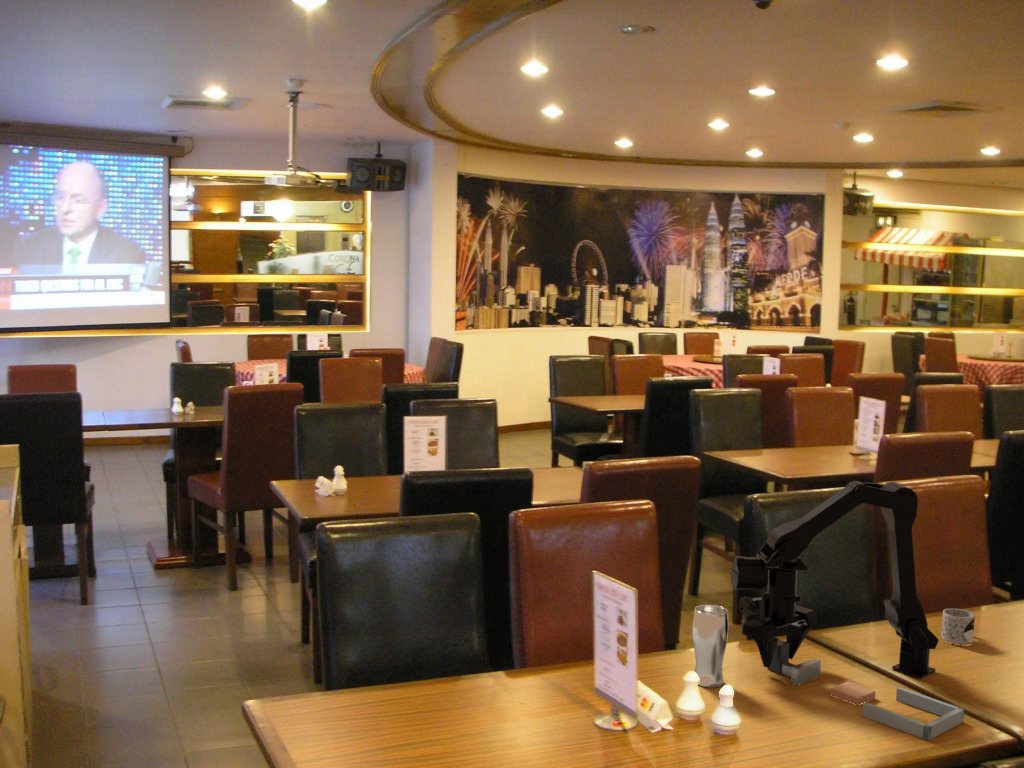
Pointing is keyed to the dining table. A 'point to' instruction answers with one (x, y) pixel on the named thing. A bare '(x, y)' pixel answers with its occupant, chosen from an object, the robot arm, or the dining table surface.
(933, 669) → the robot arm
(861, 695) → the terracotta tile
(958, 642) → the mug
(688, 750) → the dining table surface
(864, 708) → the corral
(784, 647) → the grey angular piece
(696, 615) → the beer glass
